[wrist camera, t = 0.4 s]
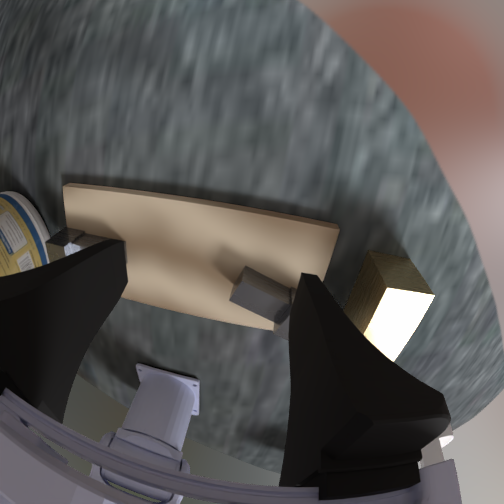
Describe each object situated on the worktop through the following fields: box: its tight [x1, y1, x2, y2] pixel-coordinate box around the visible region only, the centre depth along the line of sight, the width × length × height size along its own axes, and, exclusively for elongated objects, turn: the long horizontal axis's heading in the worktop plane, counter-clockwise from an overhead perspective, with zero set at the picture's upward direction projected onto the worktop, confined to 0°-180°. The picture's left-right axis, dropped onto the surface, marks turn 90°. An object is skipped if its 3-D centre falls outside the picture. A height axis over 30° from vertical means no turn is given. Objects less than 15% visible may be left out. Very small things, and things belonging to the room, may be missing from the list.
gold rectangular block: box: [343, 250, 435, 361], centre depth 19 cm, size 4×7×5 cm, turn 171°
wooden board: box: [63, 183, 340, 330], centre depth 21 cm, size 10×22×1 cm, turn 82°
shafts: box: [45, 227, 297, 341], centre depth 20 cm, size 4×22×3 cm, turn 81°
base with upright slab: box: [420, 424, 454, 468], centre depth 27 cm, size 9×9×12 cm
